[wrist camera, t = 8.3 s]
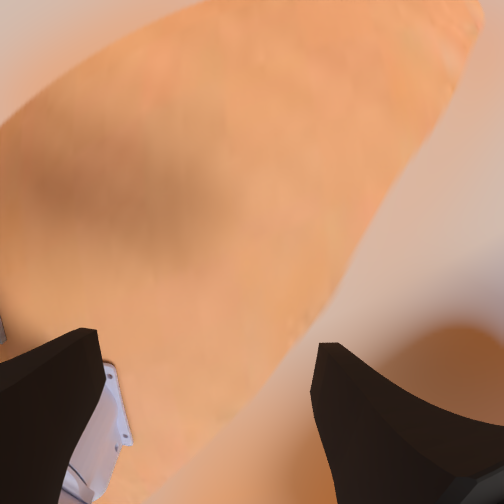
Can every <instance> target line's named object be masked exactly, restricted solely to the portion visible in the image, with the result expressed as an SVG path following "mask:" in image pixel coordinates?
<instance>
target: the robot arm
mask: <svg viewBox="0 0 504 504" xmlns="http://www.w3.org/2000/svg"><path fill="white" fill-rule="evenodd" d="M109 374H111V375H112V376H110V375H109ZM310 395H311V401H312V408H313V412H314V418H315V422H316V425H317V428H318V431H319V435H320V438H321V441H322V444H323V447H324V450H325V453H326V456H327V460H328V463H329V466H330V469H331V473H332V477H333V480H334V486H335V492H336V497H337V503H338V504H504V426H500V425H494V424H489V423H485V422H481V421H477V420H473V419H470V418H466V417H463V416H460V415H457V414H454V413H452V412H449V411H446V410H444V409H441V408H439V407H437V406H434V405H432V404H430V403H428V402H426V401H424V400H422V399H420V398H418V397H416V396H414V395H412V394H411V393H409V392H407V391H405V390H404V389H402V388H400V387H399V386H397V385H396V384H394V383H392V382H391V381H389V380H388V379H387V378H385V377H383V376H382V375H381V374H379V373H378V372H376V371H375V370H374V369H372V368H371V367H370V366H368V365H367V364H366V363H364V362H363V361H362V360H361V359H359V358H358V357H357V356H355V355H354V354H353V353H351V352H350V351H349V350H348V349H346V348H345V347H344V346H342V345H341V344H339V343H319V348H318V354H317V359H316V364H315V370H314V375H313V380H312V385H311V390H310ZM122 445H126V446H132V445H133V438H132V434H131V431H130V427H129V424H128V420H127V416H126V412H125V408H124V404H123V400H122V396H121V391H120V387H119V382H118V378H117V373H116V369H115V367H114V366H113V365H112V364H109V363H103V361H102V356H101V351H100V346H99V340H98V335H97V330H95V329H87V328H79V329H76V330H73V331H71V332H68V333H66V334H64V335H62V336H60V337H58V338H56V339H54V340H52V341H50V342H47V343H45V344H43V345H41V346H39V347H37V348H35V349H33V350H31V351H28V352H26V353H24V354H22V355H19V356H17V357H15V358H13V359H10V360H8V361H5V362H3V363H0V504H91V503H92V502H93V501H95V500H97V499H98V498H100V497H101V496H102V495H103V494H104V492H105V491H106V489H107V487H108V484H109V481H110V478H111V475H112V473H113V470H114V467H115V464H116V461H117V459H118V456H119V453H120V450H121V448H122Z"/></svg>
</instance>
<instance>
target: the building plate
mask: <svg viewBox="0 0 504 504" xmlns="http://www.w3.org/2000/svg"><path fill="white" fill-rule="evenodd" d="M6 340H7V339H6V336H5V332H4V329H3V325H2V321H1V317H0V344H3V343H4V342H5V341H6Z"/></svg>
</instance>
